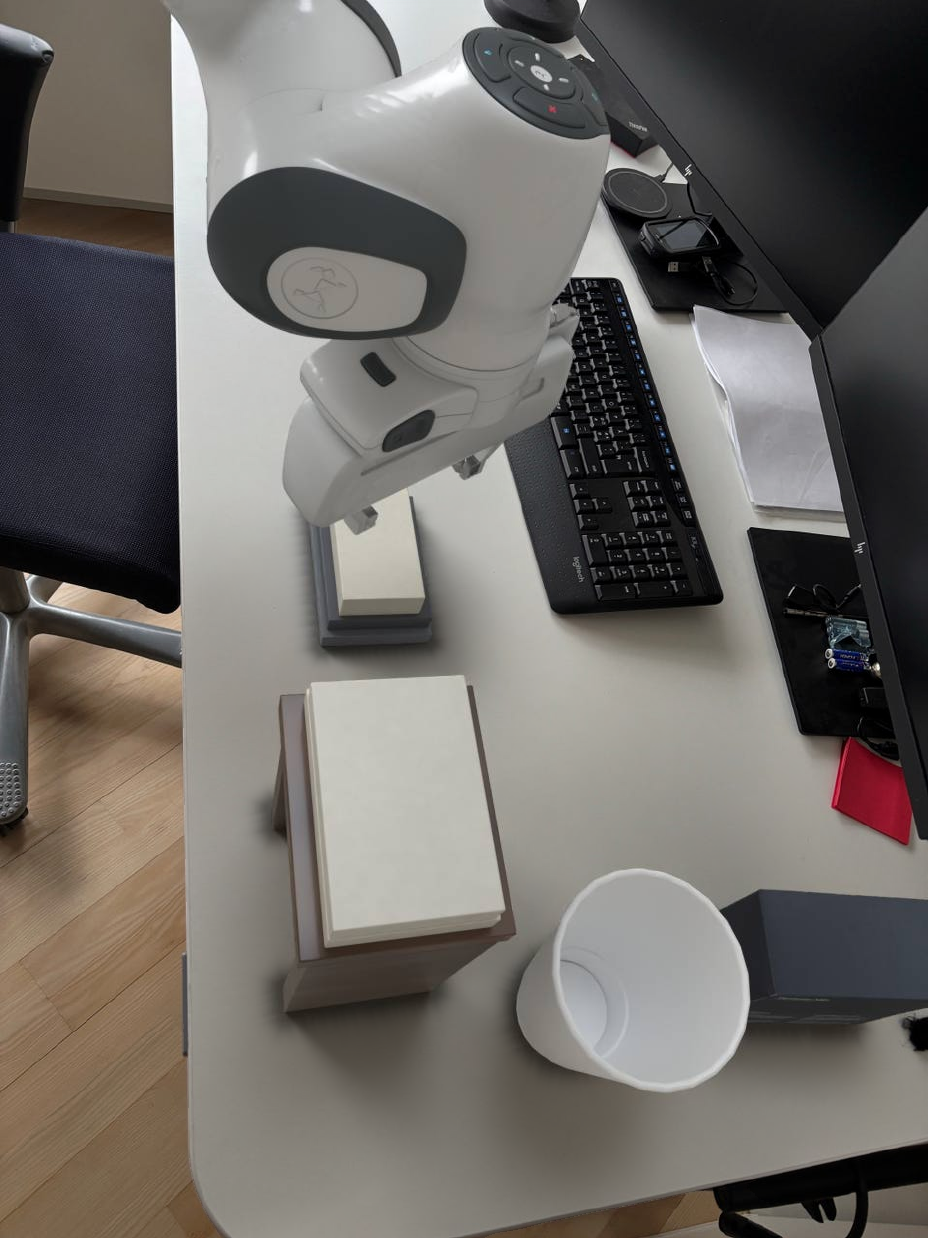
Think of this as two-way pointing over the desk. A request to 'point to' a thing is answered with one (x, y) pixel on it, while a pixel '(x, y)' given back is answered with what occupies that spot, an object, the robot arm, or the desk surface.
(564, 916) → the cup
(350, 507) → the robot arm
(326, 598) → the grey books
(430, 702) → the white books
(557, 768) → the desk surface
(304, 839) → the walnut shelf
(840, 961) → the small box
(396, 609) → the ivory book
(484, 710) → the desk surface
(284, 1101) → the desk surface
